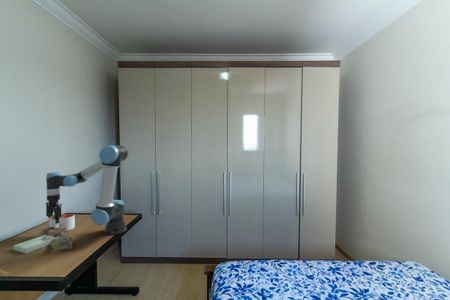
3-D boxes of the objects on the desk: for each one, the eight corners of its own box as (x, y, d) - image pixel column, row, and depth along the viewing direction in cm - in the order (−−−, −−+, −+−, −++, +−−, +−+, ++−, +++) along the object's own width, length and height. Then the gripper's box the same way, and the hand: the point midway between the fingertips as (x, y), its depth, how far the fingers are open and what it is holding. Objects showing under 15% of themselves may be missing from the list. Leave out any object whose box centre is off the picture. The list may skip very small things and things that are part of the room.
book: (53, 243, 154) (53, 236, 154) (74, 240, 159) (73, 233, 159) (51, 252, 141) (51, 244, 141) (73, 248, 147) (73, 240, 147)
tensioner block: (72, 235, 167) (72, 228, 167) (57, 240, 158) (57, 233, 158) (56, 231, 174) (56, 224, 174) (42, 236, 164) (41, 229, 164)
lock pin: (58, 234, 168) (58, 215, 168) (53, 236, 165) (52, 216, 164) (55, 233, 170) (54, 214, 169) (49, 235, 166) (48, 215, 166)
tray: (56, 242, 155) (56, 237, 155) (25, 253, 139) (25, 248, 139) (44, 239, 160) (44, 235, 160) (13, 250, 144) (13, 245, 144)
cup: (77, 227, 183) (77, 214, 183) (68, 232, 173) (67, 218, 173) (65, 226, 184) (65, 213, 184) (55, 231, 174) (55, 218, 174)
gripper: (67, 194, 166) (68, 227, 167) (50, 192, 173) (51, 223, 174) (56, 196, 159) (56, 230, 160) (39, 194, 166) (40, 226, 167)
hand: (54, 227), depth 167 cm, fingers open, 5 cm apart
